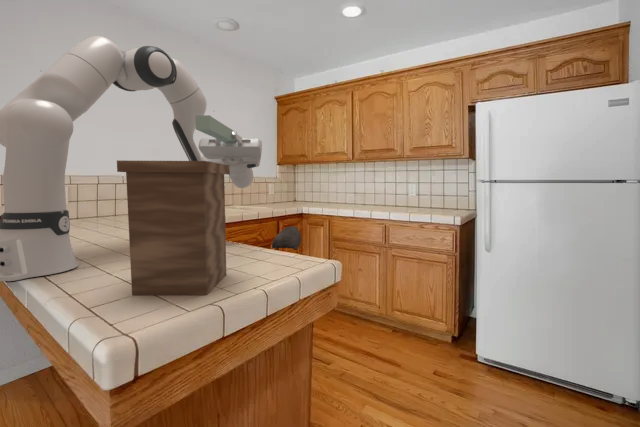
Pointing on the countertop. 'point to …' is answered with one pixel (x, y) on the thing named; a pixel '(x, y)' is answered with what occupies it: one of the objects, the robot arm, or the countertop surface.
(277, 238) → the stone
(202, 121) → the bar
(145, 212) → the pedestal
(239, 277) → the countertop surface
